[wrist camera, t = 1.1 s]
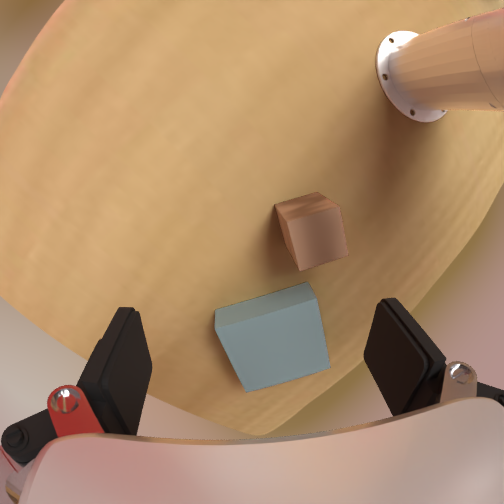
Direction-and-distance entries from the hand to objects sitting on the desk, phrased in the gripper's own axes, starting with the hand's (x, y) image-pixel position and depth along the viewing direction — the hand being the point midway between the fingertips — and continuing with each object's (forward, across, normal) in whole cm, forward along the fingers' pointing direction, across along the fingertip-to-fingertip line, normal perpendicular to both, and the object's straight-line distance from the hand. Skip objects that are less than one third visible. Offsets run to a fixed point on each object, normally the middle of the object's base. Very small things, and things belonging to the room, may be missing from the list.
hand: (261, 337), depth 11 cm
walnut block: (+22, -7, +2) cm, 24 cm away
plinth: (+22, -4, +17) cm, 28 cm away
